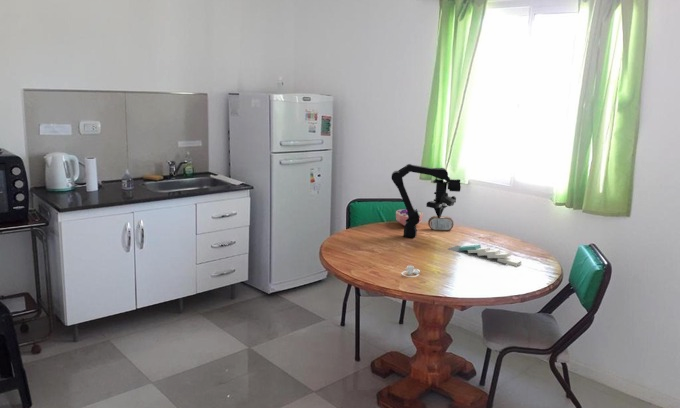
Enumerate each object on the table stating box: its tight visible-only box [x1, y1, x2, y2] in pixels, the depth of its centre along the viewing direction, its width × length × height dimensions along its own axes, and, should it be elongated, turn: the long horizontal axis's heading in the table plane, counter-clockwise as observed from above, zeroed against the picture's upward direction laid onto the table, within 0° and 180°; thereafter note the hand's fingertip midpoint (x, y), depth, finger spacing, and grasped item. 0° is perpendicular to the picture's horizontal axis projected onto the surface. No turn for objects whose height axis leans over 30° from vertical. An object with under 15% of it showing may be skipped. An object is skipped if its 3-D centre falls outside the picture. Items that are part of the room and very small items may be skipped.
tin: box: [427, 215, 454, 232], centre depth 316 cm, size 15×3×8 cm, turn 84°
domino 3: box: [487, 252, 511, 258], centre depth 262 cm, size 2×5×10 cm
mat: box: [447, 245, 507, 266], centre depth 269 cm, size 33×10×1 cm, turn 46°
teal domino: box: [459, 244, 482, 251], centre depth 273 cm, size 2×5×10 cm
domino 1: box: [468, 246, 491, 253], centre depth 269 cm, size 2×5×10 cm
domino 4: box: [497, 257, 522, 267], centre depth 258 cm, size 2×5×10 cm
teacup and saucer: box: [400, 264, 421, 278], centre depth 238 cm, size 9×8×4 cm
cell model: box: [395, 208, 424, 227], centre depth 323 cm, size 17×20×11 cm
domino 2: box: [477, 249, 501, 256], centre depth 265 cm, size 2×5×10 cm
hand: (439, 217), depth 296 cm, fingers closed
